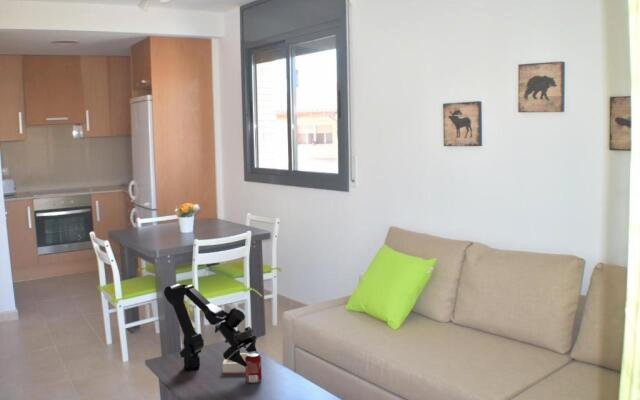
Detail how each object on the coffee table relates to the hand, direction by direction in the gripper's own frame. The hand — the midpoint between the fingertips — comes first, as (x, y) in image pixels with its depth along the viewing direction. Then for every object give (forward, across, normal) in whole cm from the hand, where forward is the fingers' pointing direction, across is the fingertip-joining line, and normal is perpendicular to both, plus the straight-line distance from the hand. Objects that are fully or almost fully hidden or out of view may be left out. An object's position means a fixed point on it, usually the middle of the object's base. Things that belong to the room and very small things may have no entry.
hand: (252, 362), depth 250 cm
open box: (-4, +9, +15) cm, 18 cm away
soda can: (+6, 0, +6) cm, 8 cm away
